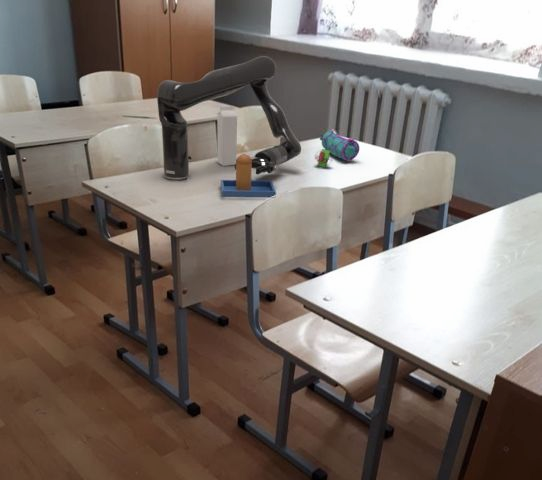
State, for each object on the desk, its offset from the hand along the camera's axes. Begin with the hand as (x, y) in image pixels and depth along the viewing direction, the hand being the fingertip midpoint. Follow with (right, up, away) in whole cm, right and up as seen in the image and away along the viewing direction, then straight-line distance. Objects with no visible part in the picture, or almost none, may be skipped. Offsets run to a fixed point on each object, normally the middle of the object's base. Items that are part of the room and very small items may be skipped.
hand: (246, 169), depth 210 cm
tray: (0, -8, +3) cm, 8 cm away
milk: (-9, +12, +33) cm, 37 cm away
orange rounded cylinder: (-1, -7, +3) cm, 7 cm away
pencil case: (+39, +22, +52) cm, 68 cm away
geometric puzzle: (+31, +13, +38) cm, 50 cm away
